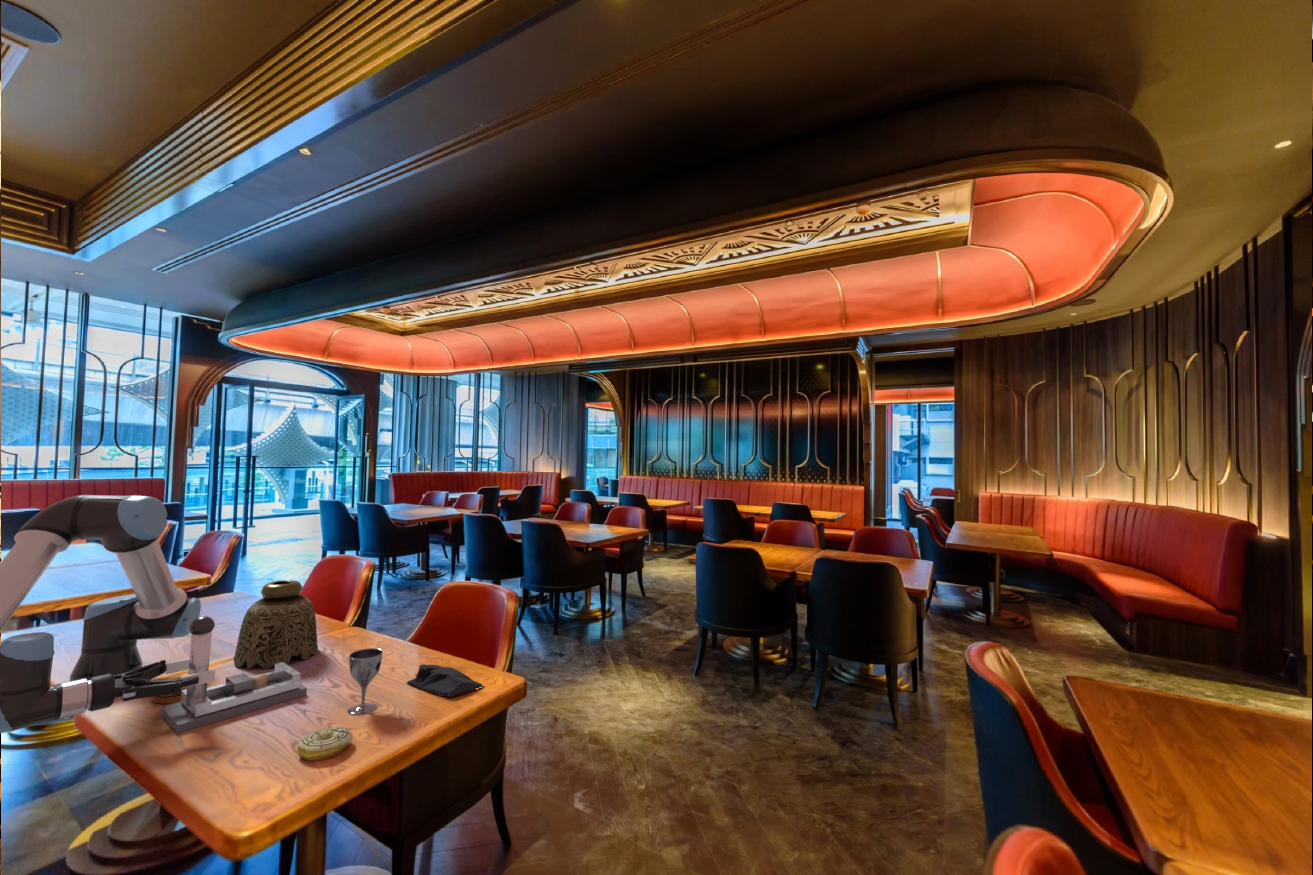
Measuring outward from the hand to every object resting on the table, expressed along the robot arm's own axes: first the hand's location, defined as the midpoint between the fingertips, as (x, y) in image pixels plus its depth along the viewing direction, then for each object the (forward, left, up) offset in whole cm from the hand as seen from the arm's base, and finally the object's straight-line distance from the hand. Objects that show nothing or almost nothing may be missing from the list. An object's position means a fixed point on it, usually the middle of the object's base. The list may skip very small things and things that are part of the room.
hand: (206, 667), depth 137 cm
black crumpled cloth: (+30, +51, -13) cm, 61 cm away
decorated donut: (+42, +12, -12) cm, 45 cm away
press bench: (0, +7, -12) cm, 14 cm away
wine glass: (+28, +27, -12) cm, 41 cm away
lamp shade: (-32, +27, -12) cm, 44 cm away
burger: (-18, -2, -12) cm, 22 cm away
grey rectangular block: (0, +7, -10) cm, 12 cm away
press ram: (0, +8, -10) cm, 12 cm away
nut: (0, +12, -10) cm, 15 cm away
